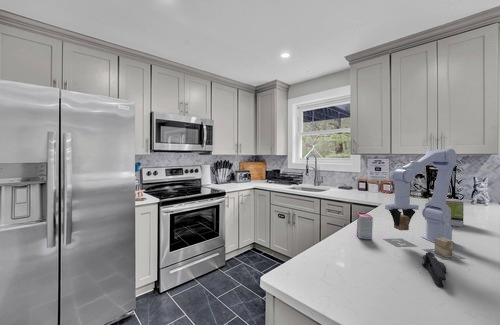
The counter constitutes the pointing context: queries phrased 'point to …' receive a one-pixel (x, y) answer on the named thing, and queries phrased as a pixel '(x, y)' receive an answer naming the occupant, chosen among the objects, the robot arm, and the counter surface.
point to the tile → (400, 242)
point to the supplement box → (364, 226)
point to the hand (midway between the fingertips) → (401, 225)
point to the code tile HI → (453, 257)
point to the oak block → (443, 246)
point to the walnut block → (403, 223)
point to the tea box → (455, 211)
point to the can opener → (435, 268)
